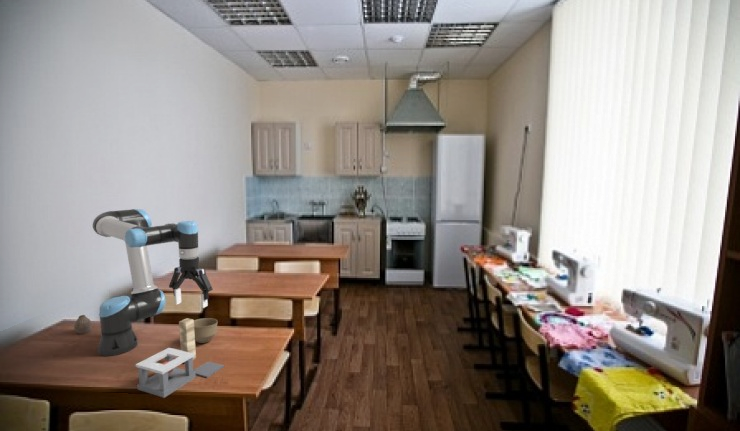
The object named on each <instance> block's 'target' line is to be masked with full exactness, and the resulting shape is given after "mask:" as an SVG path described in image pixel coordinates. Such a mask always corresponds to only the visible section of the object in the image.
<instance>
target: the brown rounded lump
mask: <svg viewBox="0 0 740 431" xmlns="http://www.w3.org/2000/svg"><path fill="white" fill-rule="evenodd" d="M73 324H74V325H73V329H74V331H75V333H77V334H79V335H80V334H81V335H82V334H86V333H88V332H89V331H90V330H91V328H92V322H91V320H90V318H88V317H87V316H86V315H85V314H82V315H79V316H78V318H77V319H76V321H75V322H74V323H73Z"/></svg>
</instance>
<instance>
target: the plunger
mask: <svg viewBox="0 0 740 431" xmlns="http://www.w3.org/2000/svg"><path fill="white" fill-rule="evenodd" d="M168 362H170V361H165V360H164V361H163V362H161V363H160V364H164V365H165V364H167V363H168ZM172 371H173V369H171V370H169V371H168V377H169V373H170V372H172Z"/></svg>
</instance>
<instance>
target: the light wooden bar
mask: <svg viewBox="0 0 740 431" xmlns="http://www.w3.org/2000/svg"><path fill="white" fill-rule="evenodd" d="M178 324H179V326H178V327H179V342H180V350H181V351H185V352H189V353H193V354H194V355H195V356H194V357H193V361H195V360H197V354H196V353H197V352H196V341H195V333H194V319H192V318H188V317H187V318H184V319H182V320H180V321H178Z"/></svg>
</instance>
